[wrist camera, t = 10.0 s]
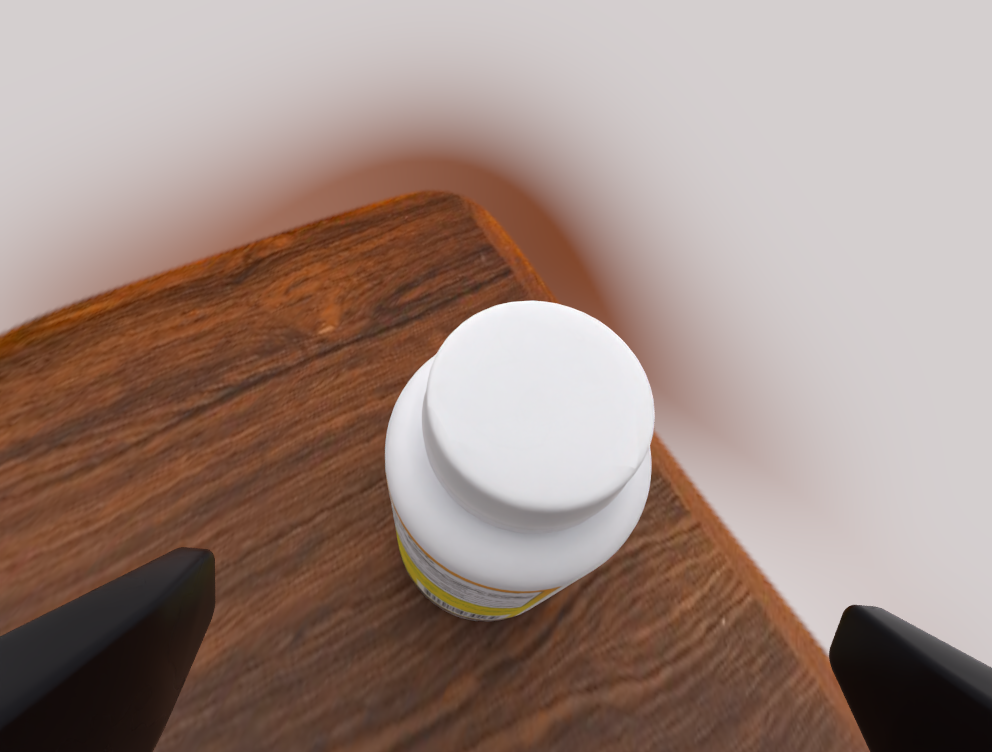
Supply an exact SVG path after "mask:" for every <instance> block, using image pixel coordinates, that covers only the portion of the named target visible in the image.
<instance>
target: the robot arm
mask: <svg viewBox="0 0 992 752" xmlns="http://www.w3.org/2000/svg"><path fill="white" fill-rule="evenodd" d="M214 608H215V559H214V555H213V553H212V552H211V551H210V550H208V549H198V548H187V547H181V548H178V549H175V550H173V551H171V552H169V553H167V554H165V555H163V556H161V557H159V558H157V559H155V560H153V561H151V562H149V563H147V564H145V565H143V566H141V567H139V568H137V569H135V570H133V571H131V572H129V573H127V574H125V575H123V576H121V577H119V578H117V579H115V580H113V581H111V582H109V583H107V584H105V585H103V586H101V587H99V588H97V589H95V590H93V591H91V592H89V593H87V594H85V595H83V596H81V597H79V598H77V599H75V600H73V601H71V602H69V603H67V604H65V605H63V606H61V607H59V608H57V609H55V610H53V611H51V612H48V613H46V614H44V615H42V616H40V617H38V618H36V619H34V620H32V621H30V622H28V623H26V624H24V625H22V626H20V627H18V628H16V629H14V630H12V631H10V632H8V633H6V634H4V635H2V636H0V752H153V750H154V748H155V746H156V744H157V742H158V740H159V738H160V736H161V735H162V732H163V730H164V728H165V726H166V724H167V721H168V719H169V717H170V715H171V712H172V710H173V708H174V705H175V703H176V701H177V698H178V696H179V694H180V692H181V689H182V687H183V685H184V682H185V680H186V678H187V675H188V673H189V671H190V668H191V666H192V664H193V661H194V659H195V657H196V654H197V652H198V650H199V647H200V645H201V643H202V640H203V638H204V636H205V633H206V631H207V629H208V626H209V624H210V622H211V619H212V616H213V613H214ZM829 659H830V664H831V667H832V670H833V672H834V674H835V677H836V679H837V681H838V683H839V685H840V687H841V690H842V692H843V694H844V696H845V698H846V700H847V703H848V705H849V707H850V709H851V711H852V713H853V715H854V718H855V720H856V722H857V724H858V726H859V728H860V731H861V733H862V735H863V737H864V739H865V741H866V744H867V746H868V748H869V750H870V752H992V668H991V667H989V666H987V665H986V664H984V663H982V662H980V661H978V660H976V659H974V658H973V657H971V656H969V655H967V654H965V653H963V652H961V651H960V650H958V649H956V648H954V647H952V646H950V645H949V644H947V643H945V642H943V641H941V640H939V639H937V638H936V637H934V636H932V635H930V634H928V633H926V632H924V631H923V630H921V629H919V628H917V627H915V626H914V625H912V624H910V623H908V622H906V621H904V620H902V619H900V618H899V617H897V616H895V615H893V614H891V613H889V612H888V611H886V610H884V609H882V608H878V607H873V606H862V605H852V606H849V607H848V608H846V609H845V611H844V612H843V615H842V617H841V620H840V623H839V625H838V628H837V631H836V633H835V636H834V639H833V641H832V644H831V647H830V651H829Z"/></svg>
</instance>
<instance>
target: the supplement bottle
mask: <svg viewBox="0 0 992 752" xmlns="http://www.w3.org/2000/svg"><path fill="white" fill-rule="evenodd" d="M654 420H655V413H654V401H653V396H652V392H651V388H650V385H649V382H648V379H647V376H646V374H645V372H644V370H643V368H642V366H641V364H640V363H639V361H638V359H637V357H636V356H635V355H634V353H633V352H632V351H631V349H630V348H629V347H628V346H627V345H626V343H625V342H624V341H623V340H622V339H621V338H620V337H619V336H617V335H616V334H615V333H614V332H613V331H612V330H611V329H610V328H608V327H607V326H606V325H604V324H603V323H601V322H600V321H598V320H597V319H595V318H593V317H591V316H589V315H587V314H585V313H583V312H581V311H578V310H576V309H573V308H570V307H567V306H564V305H560V304H556V303H550V302H542V301H520V302H509V303H505V304H501V305H496V306H493V307H491V308H488V309H486V310H483V311H481V312H480V313H478V314H476V315H474V316H472V317H470V318H469V319H467V320H466V321H465V322H463V323H462V324H461V325H460V326H459V327H458V328H456V329H455V330H454V331H453V332H452V333H451V334H450V335H449V337H448V338H447V339H446V340H445V342H444V343H443V344H442V346H441V348H440V349H439V351H438V352H437V354H436V355H435V356H433V357H432V358H431V359H429V360H428V361H427V362H426V363H425V364H424V365H423V366H422V367H421V368H420V369H419V370H418V371H417V372H416V373H415V374H414V375H413V377H412V378H411V379H410V380H409V382H408V383H407V385H406V386H405V388H404V389H403V391H402V393H401V394H400V396H399V398H398V400H397V402H396V404H395V406H394V409H393V412H392V415H391V418H390V421H389V424H388V429H387V435H386V443H385V471H386V478H387V486H388V490H389V496H390V499H391V504H392V510H393V516H394V521H395V527H396V533H397V541H398V545H399V551H400V554H401V558H402V561H403V564H404V566H405V568H406V570H407V572H408V574H409V576H410V577H411V579H412V581H413V582H414V584H415V585H416V586H417V588H418V589H419V590H420V591H421V592H422V594H423V595H424V596H425V597H427V598H428V599H429V600H430V601H431V602H432V603H434V604H435V605H437V606H438V607H439V608H441V609H443V610H444V611H446V612H448V613H450V614H452V615H455V616H457V617H460V618H464V619H469V620H474V621H497V620H504V619H507V618H511V617H514V616H517V615H520V614H522V613H524V612H526V611H528V610H529V609H531V608H533V607H534V606H536V605H538V604H539V603H541V602H543V601H544V600H546V599H548V598H549V597H551V596H552V595H554V594H556V593H557V592H559V591H560V590H562V589H564V588H565V587H567V586H568V585H570V584H572V583H573V582H575V581H577V580H578V579H580V578H582V577H583V576H585V575H587V574H588V573H590V572H592V571H593V570H595V569H596V568H597V567H599V566H600V565H602V564H603V563H604V562H606V561H607V560H608V559H609V558H610V557H611V556H612V555H613V554H615V553H616V552H617V551H618V549H619V548H620V547H621V546H622V545H623V544H624V543H625V541H626V540H627V538H628V537H629V535H630V534H631V532H632V531H633V529H634V528H635V526H636V524H637V522H638V521H639V518H640V516H641V514H642V511H643V509H644V506H645V503H646V500H647V497H648V492H649V487H650V480H651V452H650V443H651V439H652V436H653V429H654Z"/></svg>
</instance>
